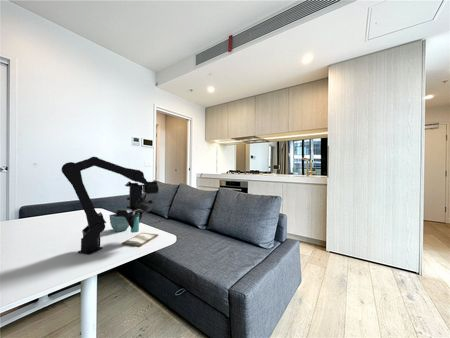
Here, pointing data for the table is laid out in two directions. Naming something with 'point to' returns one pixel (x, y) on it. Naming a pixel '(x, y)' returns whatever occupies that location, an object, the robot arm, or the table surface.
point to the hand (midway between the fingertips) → (134, 226)
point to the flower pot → (118, 223)
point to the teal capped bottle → (136, 223)
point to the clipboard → (140, 239)
